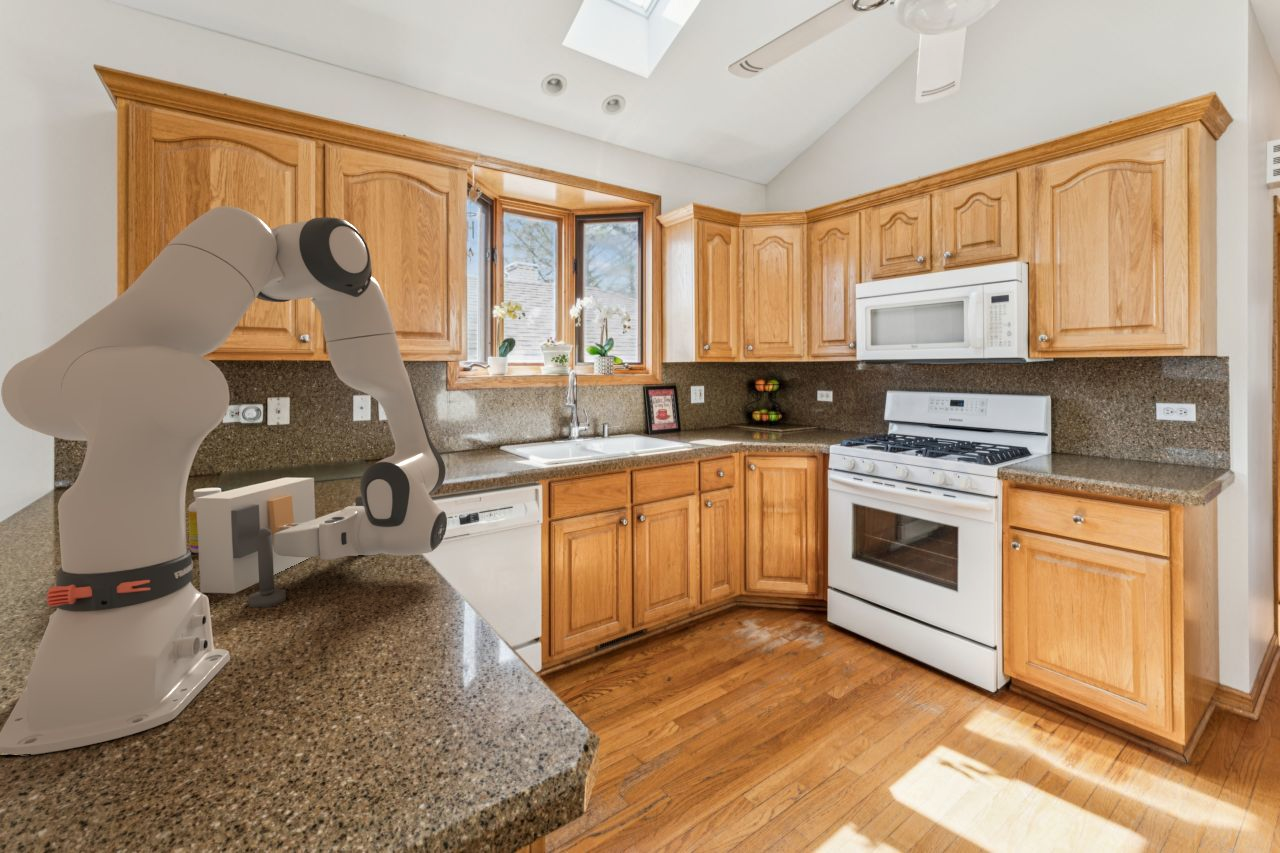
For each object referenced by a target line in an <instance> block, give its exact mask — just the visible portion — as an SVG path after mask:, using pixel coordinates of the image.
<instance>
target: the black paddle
mask: <svg viewBox="0 0 1280 853" xmlns="http://www.w3.org/2000/svg"><path fill="white" fill-rule="evenodd" d="M231 515H232V537H233V558H241V557H244V556H247V555H249V554H252V553H254V552H257V551H258V544H257V533H258V531H259V530H260V519H259V505H250V506H246V507H243V508H239V509H235V510H232V511H231Z"/></svg>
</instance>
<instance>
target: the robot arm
mask: <svg viewBox="0 0 1280 853" xmlns="http://www.w3.org/2000/svg"><path fill="white" fill-rule="evenodd" d="M372 269H373V268H372V258H371V254H370V250H369V247H368V244H367V242H366V240H365V239H364V237H363V235H362V234H361V233H360V232H359V231H358V229H357V228H356V227H355V226H354V225H353V224H351V223H350V222H348V221H347V220H345V219H342V218H338V217H330V216H329V217H328V216H327V217H326V216H325V217H314V218H311V219H310V220H306V221H305V220H304V221H299V222H293V223H289V224H283V225H279V226H276V227H275V226H274V227H272V228H270V227H269V226H268V225H267V224H266V223H265V222H264V221H263V220H262V219H261V218H260V217H258V216H256V215H255V214H253V213H252V212H249V211H247V210H245V209H242V208H239V207H237V206H236V207H235V206H231V205H229V206H228V205H227V206H226V205H225V206H218V207H214V208H211V209H209V210H208V211H207V212H205V213H203V214H201V215H200V216H199V217H197V218H196V219H194V220H193V221H192V222H190V223H189V224H188V225H187V226H185V228H183V229H182V230H180V232H178V234H177V235H176V236H174V237H173V239H171V241H170V242H169V243H168V244H167V245H166V246H165V247H164V248H163V249H162V250H161V252H160V253H159V254H158V255H157V256H156V257H155V258H154V259H153V261H152V262H151V263H150V264H149V265H148V266H147V267H146V268H145V269H144V270H143V272H142V273H141V274H140V275H139V276H138V277H137V278H136V280H134V282H133V283H131V285H130V286H128V288H127V289H126V290H125V291H123V293H121V294H120V295H119V296H118V297H116V298H115V299H114V300H113V301H112V302H110V303H109V304H107V305H106V306H104V307H103V308H102V309H100V310H99V311H98V312H96V313H95V314H94V315H92V316H90V317H89V318H88V319H86V320H84V321H83V322H82V323H80V324H79V325H78V326H77V327H75V328H74V329H72V330H71V331H70V332H68V333H66V335H65V336H63V337H62V338H60V339H59V340H58V341H56V342H55V343H53V344H51V345H50V346H48V347H47V348H45V349H43V350H41V351H40V352H38V353H35V354H34V355H31V356H28V357H27V358H25V359H23V360H20V361H19V362H17V363H16V364H14V365H13V366H12V367H11V368H10V369H9V370H8V371H7V373H6V374H5V375H4V376H5V377H4V378H3V381H2V383H1V389H0V390H1V398H2V399H1V400H2V403H3V406H4V408H5V409H6V411H7V413H8V414H9V416H11V418H12V419H13V420H15V422H18V423H19V424H20V425H21V426H23V427H26V428H28V429H31V430H33V431H35V432H39V433H41V434H43V435H46V436H50V437H54V438H56V439H59V440H64V441H74V442H75V441H79V442H83V441H84V442H87V445H86V451H85V456H84V460H83V463H82V466H81V468H80V470H79V471H80V472H79V474H78V476H77V479H75V481H74V483H73V484H72V485H71V486H70V487H69V488H68V489H66V490H64V492H63V493H62V495H61V496H60V497H59V500H58V502H57V503H58V504H57V513H58V514H57V515H58V528H59V529H58V531H59V544H60V545H59V546H60V547H59V548H60V560H61V562H60V563H61V567H60V568H58V570H57V571H56V580H55V582H54V586H51V587H50V588H49V589H48V590H47V592H48V593H47V594H46V597H47V598H46V601H47V602H46V603H47V604H46V605H48V607H55V609H56V610H55V611H53V613H52V614H51V615H50V616H49V622H48V624H47V626H46V629H45V630H44V633H43V636H42V638H41V641H40V643H39V646H38V649H37V651H36V654H35V656H34V659H33V661H32V664H31V667H30V670H29V672H28V676H27V679H26V686H25V688H24V690H23V691H22V693H21V695H20V697H19V699H18V700H17V702H16V703H15V705H14V708H13V709H12V711H11V713H10V714H9V716H8V718H7V720H6V721H5V723H4V725H3V726H2V729H1V730H0V753H1V754H2V753H4V754H6V753H7V754H31V755H40V754H46V753H53V752H59V751H65V750H69V749H74V748H80V747H84V746H89V745H93V744H98V743H102V742H104V743H105V742H107V741H112V740H115V739H119V738H122V737H128V736H130V735H133V734H134V735H135V734H137V733H140V732H143V731H146V730H150V729H153V728H155V727H158V726H161V725H163V724H165V723H168V722H171V721H172V720H174V719H175V718H177V717H178V716H179V715H180V713H181V712H183V710H185V708H186V707H187V706H188V705H189V704H190V703H191V702H192V701H193V699H195V698H196V696H197V695H198V694H199V693H200V692H201V691H202V690H203V689H204V688H205V687H206V686H207V685H208V684H209V683H210V681H211V680H213V678H214V677H215V676H216V675H217V674H218V673H219V672H220V671H221V670H222V668H224V667H225V666H226V665H227V664H228V662H229V661H230V660H231V656H230V652H229V650H226V649H222V648H215V647H214V639H213V628H212V617H211V610H210V608H211V607H210V601H209V597H208V595H206V594H204V593H201V591H199V590H198V589H196V587H195V586H194V585H193V584H192V582H191V581H192V580H193V578H194V576H193V574H194V572H193V568H194V561H193V559H192V552H191V550H190V549H187V530H186V529H187V528H186V526H187V524H186V522H187V521H186V492H187V485H188V479H189V476H190V472H191V469H192V465H193V463H194V459H195V457H196V455H197V452H198V450H199V448H200V446H201V444H202V442H203V441H204V440H205V438H206V437H207V436H208V435H209V434H210V433H211V432H212V431H213V430H214V429H216V428H217V427H218V426H219V425H220V424H221V423H222V421H223V420H224V418H225V416H226V414H227V413H228V409H229V405H230V390H229V385H228V382H227V378H225V375H224V374H223V372H222V371H221V370H220V369H219V367H218V366H217V365H216V364H215V363H213V362H212V361H211V360H210V359H208V358H206V357H205V356H206V355H209V354H210V353H213V352H215V351H216V350H218V349H219V348H220V347H221V346H223V345H224V344H225V342H226V341H227V340H228V338H229V337H230V336H231V334H232V333H233V331H234V330H235V328H236V327H237V326H238V324H239V323H240V321H241V320H242V319H243V318H244V316H245V314H246V313H247V312H248V310H249V308H251V306H252V304H253V303H254V302H255V300H256V299H258V300H261V301H265V302H271V303H283V302H285V303H286V302H289V301H292V300H293V301H294V300H300V299H302V300H303V299H308V298H309V299H310V301H311V302H312V303H313V305H314V306H315V307H316V309H317V310H318V311H319V314H320V315H321V325H322V330H323V335H324V341H325V343H326V344H325V345H326V348H327V354H328V358H329V361H330V363H331V366H332V368H333V371H334V372H335V374H336V376H337V377H338V379H339V380H340V381H341V382H343V384H345V385H346V386H348V387H350V388H351V389H353V390H355V391H358V392H361V393H365V394H367V395H368V396H369V397H372V398H373V399H375V400H376V401H377V402H378V404H380V406H381V408H382V409H383V411H384V414H385V417H386V419H387V423H388V424H387V425H388V426H389V430H390V432H391V435H392V439H393V442H394V445H395V446H394V448H395V449H394V453H393V455H391V456H388V457H385V458H383V459H381V460H379V461H377V462H375V463H373V464H371V465H370V466H368V467H367V468H366V469H365V470H364V472H363V473H362V476H361V478H360V481H359V482H360V483H359V492H360V495H361V496H362V501H363V505H364V506H356V505H349V506H345V507H344V508H343V509H340V510H336V511H333V512H331V513H328V514H326V515H322V516H319V517H317V518H316V517H315V519H314V520H311V521H308V522H304V523H292V524H289V525H286V526H283V527H280V532H276V533H275V534H274V535H273V548H274V552H275V553H276V554H278V555H281V556H292V557H313V558H318V557H320V561H334V560H338V559H342V558H346V557H359V556H358V555H364V556H375V555H379V554H385V555H389V556H416V555H424V554H429V553H432V552H434V550H436V549H437V548H438V547H439V546H440V544H441V543H442V541H443V540H444V537H445V535H446V531H447V528H448V527H447V526H448V519H447V518H448V517H447V513H446V512H445V511H444V509H441V508H440V507H439V506H438V505H437V504H436V503H435V502H434V500H433V498H432V497H431V496H430V495H432V494H434V493H436V492H437V491H438V490H439V489H440V488H441V487H442V485H443V484H444V481H445V478H446V465H445V462H444V461H445V460H444V459H443V457H442V455H441V454H440V452H439V451H438V450H437V448H436V446H435V445H434V444H433V442H432V439H431V437H430V435H429V431H428V429H427V425H426V422H425V418H424V415H423V412H422V409H421V405H420V403H419V399H418V397H417V393H416V390H415V387H414V385H413V384H414V383H413V382H412V380H411V378H410V375H409V373H408V371H407V369H406V367H405V363H404V360H403V357H402V354H401V350H400V345H399V342H398V338H397V337H398V336H397V334H396V328H395V326H394V325H395V324H394V320H393V317H392V315H391V311H390V309H389V306H388V305H389V304H388V303H387V300H386V297H385V295H384V293H383V290H382V288H381V286H380V284H379V282H378V281H377V280H376V279H375V278H374V277H373V276H372V274H373V272H372Z"/></svg>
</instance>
